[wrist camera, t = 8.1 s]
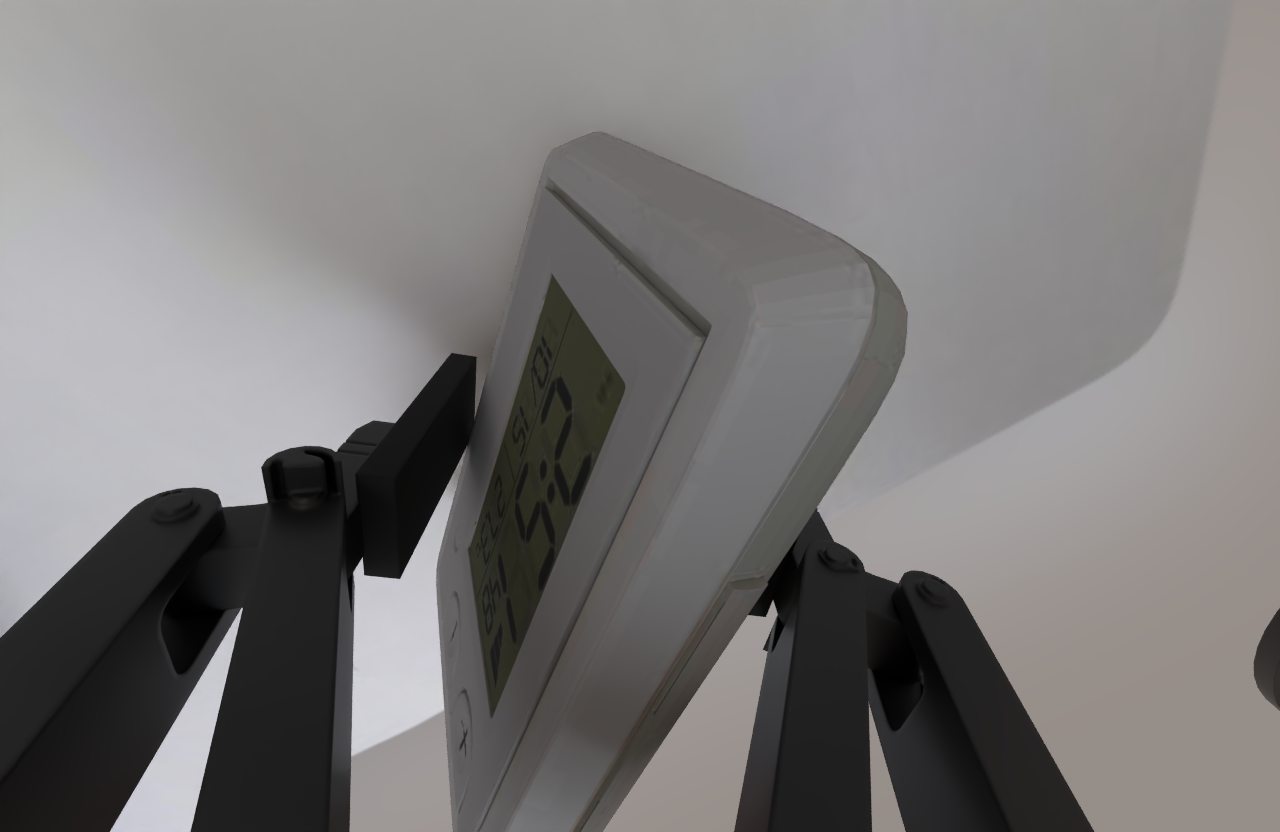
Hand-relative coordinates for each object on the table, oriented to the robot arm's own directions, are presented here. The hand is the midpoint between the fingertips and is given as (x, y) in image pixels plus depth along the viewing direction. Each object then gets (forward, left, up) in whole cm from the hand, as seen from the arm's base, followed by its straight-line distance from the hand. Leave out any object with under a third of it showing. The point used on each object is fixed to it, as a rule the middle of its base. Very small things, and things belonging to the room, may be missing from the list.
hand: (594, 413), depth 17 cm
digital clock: (+1, 0, 0) cm, 1 cm away
